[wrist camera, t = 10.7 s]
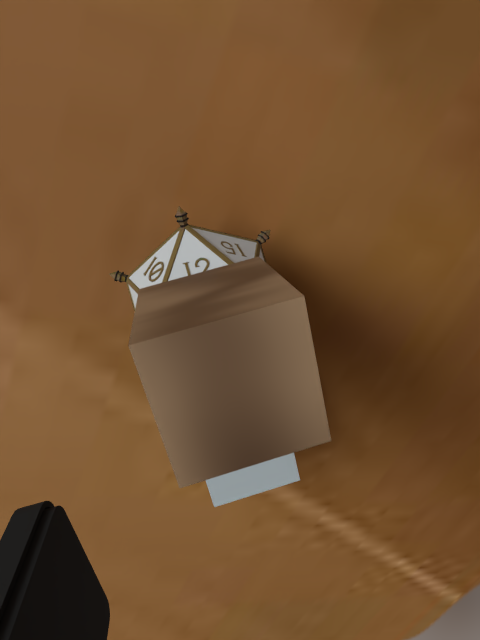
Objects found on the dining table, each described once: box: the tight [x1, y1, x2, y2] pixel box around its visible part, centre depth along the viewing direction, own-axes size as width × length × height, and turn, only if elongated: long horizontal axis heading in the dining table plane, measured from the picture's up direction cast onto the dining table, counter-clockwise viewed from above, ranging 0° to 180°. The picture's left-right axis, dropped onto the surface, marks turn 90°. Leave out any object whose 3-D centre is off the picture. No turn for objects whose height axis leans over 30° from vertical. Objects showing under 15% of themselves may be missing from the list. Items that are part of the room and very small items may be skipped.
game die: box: [110, 206, 270, 375], centre depth 22 cm, size 9×8×10 cm
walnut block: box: [128, 257, 331, 488], centre depth 15 cm, size 5×5×6 cm
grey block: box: [206, 453, 300, 507], centre depth 26 cm, size 5×5×6 cm
